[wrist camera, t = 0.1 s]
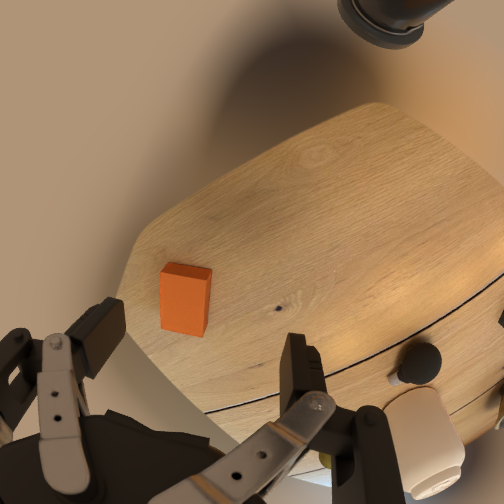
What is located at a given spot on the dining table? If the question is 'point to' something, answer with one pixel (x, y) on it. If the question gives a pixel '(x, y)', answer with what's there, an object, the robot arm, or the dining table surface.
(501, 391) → the bowl
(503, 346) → the dining table surface
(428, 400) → the can
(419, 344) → the light bulb
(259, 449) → the robot arm
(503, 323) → the frame
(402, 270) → the dining table surface
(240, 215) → the dining table surface
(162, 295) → the pad loose
